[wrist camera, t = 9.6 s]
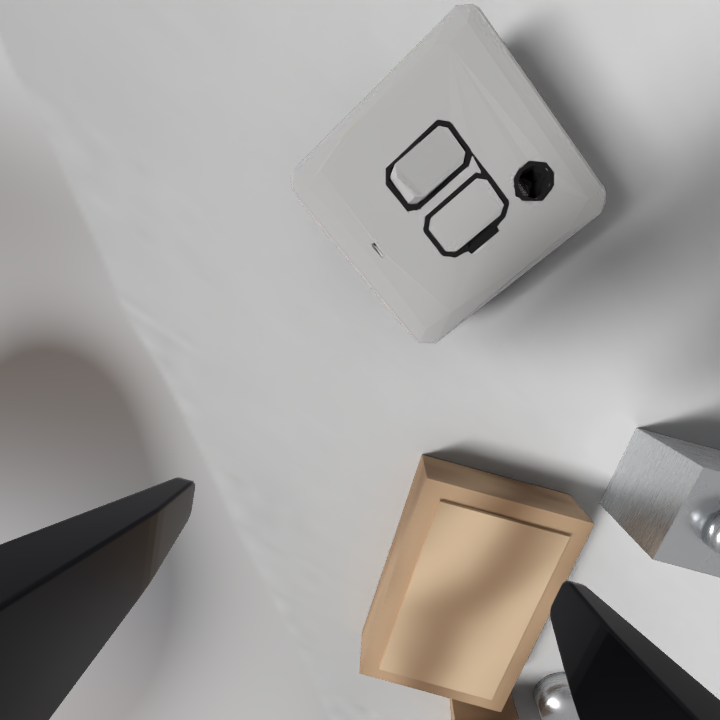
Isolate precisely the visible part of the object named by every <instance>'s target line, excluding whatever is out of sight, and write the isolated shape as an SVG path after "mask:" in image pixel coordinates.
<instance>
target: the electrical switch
mask: <svg viewBox="0 0 720 720" xmlns="http://www.w3.org/2000/svg"><path fill="white" fill-rule="evenodd" d="M291 182H292V190H293V192H294V194H295V195H296V197H297V199H298V200H299V201H300V203H301V204H302V205H303V206H304V207H305V209H306V210H307V211H308V212H309V214H310V215H311V216H312V217H313V218H314V220H315V221H316V222H317V223H318V224H319V226H320V227H321V228H322V229H323V230H324V232H325V233H326V234H327V235H328V236H329V238H330V239H331V240H332V241H333V242H334V244H335V245H336V246H337V247H338V248H339V250H340V251H341V252H342V253H343V254H344V256H345V257H346V258H347V259H348V261H349V262H350V263H351V264H352V265H353V267H354V268H355V269H356V270H357V271H358V273H359V274H360V275H361V276H362V277H363V279H364V280H365V281H366V282H367V283H368V285H369V286H370V287H371V288H372V289H373V291H374V292H375V293H376V294H377V295H378V297H379V298H380V299H381V300H382V301H383V303H384V304H385V305H386V306H387V307H388V309H389V310H390V311H391V312H392V314H393V315H394V316H395V317H396V318H397V320H398V321H399V322H400V323H401V324H402V326H403V327H404V328H405V329H406V330H407V332H408V333H409V334H410V335H411V336H412V337H413V338H414V339H415V340H416V341H417V342H418V343H437V342H438V341H439V340H441V339H442V338H443V337H444V336H446V335H447V334H448V333H449V332H451V331H452V330H453V329H455V328H456V327H457V326H458V325H460V324H461V323H462V322H463V321H465V320H466V319H467V318H468V317H470V316H471V315H472V314H474V313H475V312H476V311H477V310H479V309H480V308H481V307H482V306H484V305H485V304H486V303H488V302H489V301H490V300H491V299H493V298H494V297H495V296H496V295H498V294H499V293H500V292H502V291H503V290H504V289H505V288H507V287H508V286H509V285H510V284H512V283H513V282H514V281H515V280H517V279H518V278H519V277H521V276H522V275H523V274H524V273H526V272H527V271H528V270H529V269H531V268H532V267H533V266H535V265H536V264H537V263H538V262H540V261H541V260H542V259H543V258H545V257H546V256H547V255H549V254H550V253H551V252H552V251H554V250H555V249H556V248H557V247H559V246H560V245H561V244H562V243H564V242H565V241H566V240H568V239H569V238H570V237H571V236H573V235H574V234H575V233H576V232H578V231H579V230H580V229H582V228H583V227H584V226H585V225H587V224H588V223H589V222H590V221H592V220H593V219H594V218H596V217H597V216H598V215H599V214H601V212H602V210H603V207H604V205H605V203H606V200H607V198H606V191H605V187H604V186H603V185H602V183H601V182H600V180H599V179H598V177H597V176H596V174H595V173H594V172H593V170H592V169H591V167H590V166H589V164H588V163H587V162H586V160H585V159H584V157H583V156H582V154H581V153H580V152H579V150H578V149H577V147H576V146H575V144H574V143H573V141H572V140H571V139H570V137H569V136H568V134H567V133H566V131H565V130H564V129H563V127H562V126H561V124H560V123H559V121H558V120H557V119H556V117H555V116H554V114H553V113H552V111H551V110H550V108H549V107H548V106H547V104H546V103H545V101H544V100H543V98H542V97H541V96H540V94H539V93H538V91H537V90H536V88H535V87H534V86H533V84H532V83H531V81H530V80H529V78H528V77H527V75H526V74H525V73H524V71H523V70H522V68H521V67H520V65H519V64H518V63H517V61H516V60H515V58H514V57H513V55H512V54H511V53H510V51H509V50H508V48H507V47H506V45H505V44H504V42H503V41H502V40H501V38H500V37H499V35H498V34H497V32H496V31H495V30H494V28H493V27H492V25H491V24H490V22H489V21H488V20H487V18H486V17H485V15H484V14H483V12H482V11H481V9H480V8H479V7H477V6H475V5H474V4H468V5H456V6H455V7H454V8H453V9H452V10H451V11H450V12H449V13H448V14H447V15H446V16H445V17H444V18H443V19H442V20H441V21H440V22H439V23H438V24H437V25H436V26H435V27H434V28H433V29H432V30H431V31H430V32H429V33H428V34H427V35H426V36H425V37H424V38H423V39H422V40H421V41H420V42H419V43H418V44H417V45H416V46H415V48H414V49H413V50H412V51H411V52H410V53H409V54H408V55H407V56H406V57H405V58H404V59H403V60H402V61H401V62H400V63H399V64H398V65H397V66H396V67H395V68H394V69H393V70H392V71H391V72H390V73H389V74H388V75H387V76H386V77H385V78H384V79H383V80H382V81H381V82H380V83H379V84H378V85H377V86H376V87H375V88H374V89H373V90H372V91H371V92H370V93H369V94H368V95H367V96H366V97H365V98H364V99H363V100H362V101H361V102H360V103H359V104H358V105H357V106H356V107H355V108H354V109H353V110H352V111H351V112H350V113H349V114H348V115H347V116H346V117H345V118H344V119H343V120H342V121H341V122H340V123H339V124H338V125H337V126H336V127H335V128H334V129H333V131H332V132H331V133H330V134H329V135H328V136H327V137H326V138H325V139H324V140H323V141H322V142H321V143H320V144H319V145H318V146H317V147H316V148H315V149H314V150H313V151H312V152H311V153H310V154H309V155H308V156H307V157H306V158H305V159H304V160H303V161H302V162H301V163H300V164H299V165H298V166H297V167H296V168H295V169H294V171H293V173H292V176H291ZM518 182H519V183H520V184H521V186H522V187H523V188H524V190H525V191H526V192H527V194H528V195H529V196H528V197H527V196H524V195H522V193H521V191H520V189H519V187H518Z"/></svg>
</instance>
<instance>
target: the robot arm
mask: <svg viewBox="0 0 720 720" xmlns="http://www.w3.org/2000/svg"><path fill="white" fill-rule="evenodd" d="M194 491H195V483H194V482H193V481H191V480H187V479H183V478H174V479H172V480H169V481H166V482H164V483H161V484H158V485H156V486H153V487H151V488H148V489H145V490H143V491H140V492H137V493H135V494H132V495H130V496H127V497H124V498H122V499H119V500H116V501H114V502H111V503H109V504H106V505H103V506H101V507H98V508H95V509H93V510H90V511H87V512H85V513H83V514H80V515H77V516H74V517H72V518H69V519H66V520H64V521H61V522H59V523H56V524H53V525H51V526H48V527H45V528H43V529H40V530H38V531H35V532H32V533H30V534H27V535H24V536H22V537H19V538H17V539H14V540H11V541H9V542H6V543H3V544H1V545H0V720H49V719H50V717H51V716H52V714H53V713H54V712H55V711H56V709H57V708H58V707H59V705H60V704H61V703H62V701H63V700H64V699H65V697H66V696H67V694H68V693H69V692H70V691H71V689H72V688H73V686H74V685H75V684H76V682H77V681H78V679H79V678H80V677H81V676H82V674H83V673H84V672H85V670H86V669H87V668H88V666H89V665H90V664H91V662H92V661H93V660H94V658H95V657H96V656H97V654H98V653H99V651H100V650H101V649H102V647H103V646H104V645H105V643H106V642H107V641H108V639H109V638H110V637H111V635H112V634H113V633H114V631H115V630H116V629H117V627H118V626H119V624H120V623H121V622H122V621H123V619H124V618H125V616H126V615H127V614H128V612H129V611H130V610H131V608H132V607H133V606H134V604H135V603H136V602H137V600H138V599H139V598H140V596H141V595H142V593H143V592H144V590H145V589H146V588H147V586H148V585H149V583H150V582H151V580H152V579H153V577H154V576H155V574H156V572H157V571H158V569H159V567H160V566H161V564H162V562H163V561H164V559H165V557H166V556H167V554H168V552H169V551H170V549H171V548H172V546H173V544H174V543H175V541H176V539H177V537H178V536H179V534H180V533H181V531H182V529H183V528H184V526H185V524H186V523H187V521H188V519H189V517H190V513H191V510H192V504H193V497H194ZM550 617H551V622H552V625H553V629H554V633H555V637H556V640H557V644H558V648H559V652H560V655H561V659H562V663H563V667H564V670H565V674H566V678H567V682H568V685H569V689H570V692H571V695H572V699H573V702H574V705H575V708H576V711H577V714H578V717H579V719H580V720H720V700H719V699H718V698H716V697H715V696H714V695H713V694H712V693H711V692H709V691H708V690H707V689H706V688H705V687H704V686H702V685H701V684H700V683H699V682H698V681H696V680H695V679H694V678H693V677H692V676H691V675H689V674H688V673H687V672H686V671H685V670H684V669H682V668H681V667H680V666H679V665H678V664H677V663H675V662H674V661H673V660H672V659H671V658H669V657H668V656H667V655H666V654H665V653H664V652H662V651H661V650H660V649H659V648H658V647H657V646H655V645H654V644H653V643H652V642H651V641H649V640H648V639H647V638H646V637H645V636H644V635H642V634H641V633H640V632H639V631H638V630H637V629H635V628H634V627H633V626H632V625H631V624H630V623H628V622H627V621H626V620H625V619H624V618H622V617H621V616H620V615H619V614H618V613H617V612H615V611H614V610H613V609H612V608H611V607H610V606H608V605H607V604H606V603H605V602H604V601H603V600H601V599H600V598H599V597H598V596H597V595H595V594H594V593H593V592H592V591H591V590H590V589H588V588H587V587H586V586H584V585H582V584H579V583H575V582H571V581H565V582H563V583H562V585H561V587H560V589H559V591H558V593H557V595H556V597H555V599H554V601H553V603H552V606H551V610H550Z"/></svg>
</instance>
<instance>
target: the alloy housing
mask: <svg viewBox="0 0 720 720" xmlns="http://www.w3.org/2000/svg"><path fill="white" fill-rule="evenodd" d="M599 504H600V505H601V506H602V507H603V508H604V509H605V510H606V511H607V512H608V513H609V514H610V515H611V516H612V517H613V518H614V519H615V520H616V521H617V522H618V524H619V525H620V526H621V527H622V528H623V529H624V530H625V531H626V532H627V533H628V534H629V535H630V536H631V537H632V538H633V539H634V540H635V541H636V542H637V543H638V544H639V546H640V547H641V548H642V549H643V550H644V551H645V552H646V553H647V554H648V555H649V556H650V557H651V558H652V559H654V560H657V561H661V562H665V563H668V564H672V565H676V566H679V567H683V568H687V569H690V570H694V571H698V572H701V573H705V574H709V575H713V576H716V577H720V450H717V449H713V448H710V447H706V446H702V445H698V444H695V443H691V442H687V441H684V440H680V439H676V438H672V437H669V436H665V435H661V434H658V433H654V432H650V431H646V430H643V429H639V428H636V430H635V432H634V434H633V436H632V438H631V440H630V442H629V444H628V446H627V448H626V450H625V452H624V454H623V456H622V458H621V460H620V462H619V465H618V467H617V469H616V471H615V473H614V475H613V477H612V479H611V481H610V483H609V485H608V487H607V489H606V491H605V493H604V495H603V497H602V499H601V501H600V503H599Z"/></svg>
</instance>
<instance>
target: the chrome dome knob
mask: <svg viewBox="0 0 720 720" xmlns="http://www.w3.org/2000/svg"><path fill="white" fill-rule="evenodd" d="M534 699H535V702H536V705H537V707H538V710H539V713H540V716H541V719H542V720H580V719H579V717H578V714H577V711H576V708H575V705H574V702H573V699H572V695H571V692H570V689H569V685H568V682H567V678H566V674H565V672H557V673H553V674H550V675H548V676H546V677H544V678H543V679H542V680H541V681H539V683H538V684H537V685H536V687H535V690H534Z"/></svg>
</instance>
